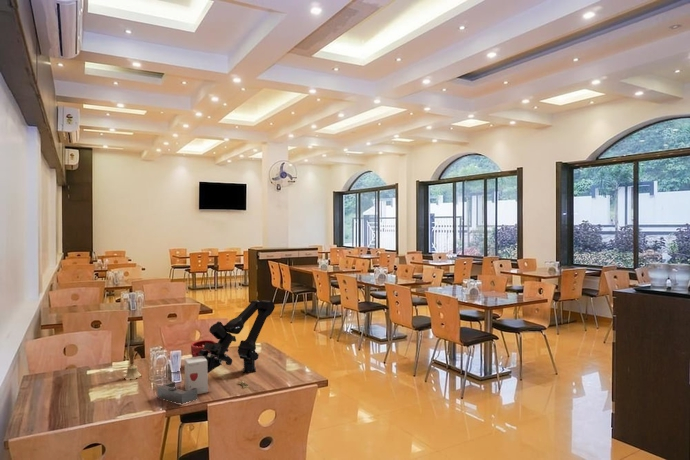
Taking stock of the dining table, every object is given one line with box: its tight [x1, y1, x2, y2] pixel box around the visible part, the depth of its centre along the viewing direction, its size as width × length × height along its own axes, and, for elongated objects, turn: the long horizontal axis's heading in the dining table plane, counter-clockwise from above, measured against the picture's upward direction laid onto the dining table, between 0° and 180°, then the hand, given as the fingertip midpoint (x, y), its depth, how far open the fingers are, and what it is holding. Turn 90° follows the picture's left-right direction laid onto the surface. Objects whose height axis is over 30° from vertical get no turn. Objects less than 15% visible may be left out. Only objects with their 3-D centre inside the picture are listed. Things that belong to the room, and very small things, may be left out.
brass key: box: [237, 380, 249, 389], centre depth 225 cm, size 8×3×1 cm, turn 37°
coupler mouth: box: [157, 381, 198, 404], centre depth 210 cm, size 8×17×6 cm, turn 56°
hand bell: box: [124, 345, 142, 378], centre depth 240 cm, size 8×8×16 cm
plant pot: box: [190, 339, 217, 358], centre depth 258 cm, size 13×13×12 cm
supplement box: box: [183, 356, 209, 395], centre depth 218 cm, size 9×9×15 cm
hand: (205, 373), depth 223 cm, fingers closed
